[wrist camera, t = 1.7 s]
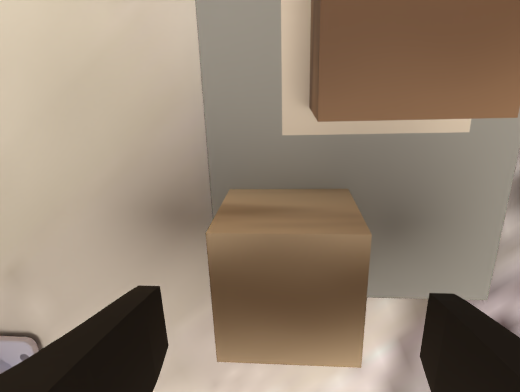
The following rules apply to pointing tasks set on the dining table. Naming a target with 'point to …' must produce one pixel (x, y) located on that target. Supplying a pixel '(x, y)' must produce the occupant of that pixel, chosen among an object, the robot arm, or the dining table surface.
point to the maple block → (289, 277)
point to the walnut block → (414, 59)
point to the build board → (353, 154)
